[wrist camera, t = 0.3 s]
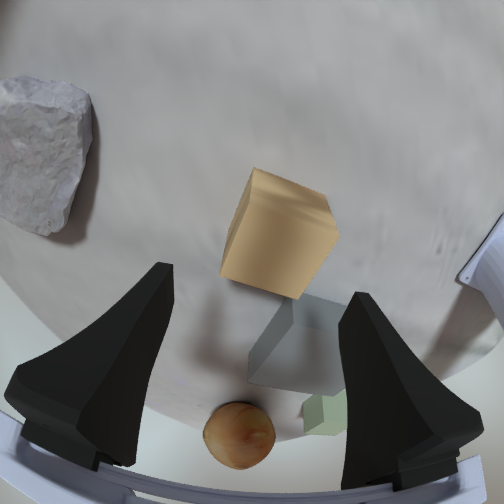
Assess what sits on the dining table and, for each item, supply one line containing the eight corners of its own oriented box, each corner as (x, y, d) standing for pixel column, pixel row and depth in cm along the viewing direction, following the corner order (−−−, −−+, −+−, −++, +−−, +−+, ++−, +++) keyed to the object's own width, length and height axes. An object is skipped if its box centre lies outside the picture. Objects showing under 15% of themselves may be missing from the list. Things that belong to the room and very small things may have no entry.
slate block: (383, 313, 26) (393, 346, 23) (330, 367, 32) (333, 396, 28) (291, 286, 24) (293, 323, 21) (249, 349, 30) (247, 382, 27)
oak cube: (324, 194, 19) (339, 236, 15) (293, 251, 22) (297, 299, 18) (253, 166, 18) (249, 202, 14) (228, 229, 21) (218, 275, 17)
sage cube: (352, 391, 35) (356, 423, 31) (332, 405, 38) (334, 435, 34) (321, 387, 34) (324, 421, 30) (302, 402, 37) (304, 433, 33)
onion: (203, 388, 36) (193, 457, 28) (279, 393, 35) (279, 463, 27) (210, 414, 41) (203, 470, 33) (273, 418, 41) (272, 475, 33)
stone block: (115, 85, 16) (9, 70, 13) (91, 101, 13) (-28, 87, 9) (91, 215, 23) (4, 193, 20) (74, 251, 20) (-21, 224, 16)
